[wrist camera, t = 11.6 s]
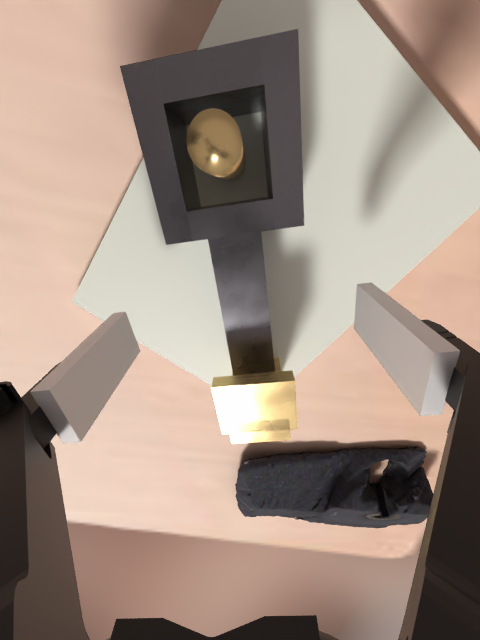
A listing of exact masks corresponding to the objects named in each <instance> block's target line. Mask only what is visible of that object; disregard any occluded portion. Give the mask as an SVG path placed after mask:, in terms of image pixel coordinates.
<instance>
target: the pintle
mask: <svg viewBox="0 0 480 640" xmlns="http://www.w3.org/2000/svg"><path fill="white" fill-rule="evenodd" d="M187 149H188V152H189V155H190V157H191V159H192V161H193V162H194V164H195V165H196V166H197V167H198V168H199V169H201V170H202V171H204V172H206V173H208V174H211V175H214V176H216V177H219V178H222V179H224V180H228V181H232V180H235V179H237V178H239V177H240V176H241V175H242V173H243V171H244V169H245V164H246V161H245V155H244V149H243V143H242V138H241V133H240V129H239V127H238V125H237V123H236V121H235V120H234V119H233V118H232V117H231V116H230V115H229V114H228V113H227V112H225V111H223V110H220V109H216V108H211V109H206V110H203V111H201V112H200V113H198V114H197V115H196V116H195V117H194V119H193V120H192V122H191V123H190V126H189V128H188V132H187Z"/></svg>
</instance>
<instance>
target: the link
mask: <svg viewBox="0 0 480 640" xmlns="http://www.w3.org/2000/svg"><path fill="white" fill-rule="evenodd" d="M120 68H121V72H122V76H123V80H124V84H125V87H126V91H127V95H128V99H129V103H130V107H131V111H132V115H133V118H134V122H135V126H136V130H137V134H138V138H139V142H140V146H141V149H142V153H143V157H144V161H145V165H146V169H147V173H148V177H149V180H150V184H151V188H152V192H153V196H154V200H155V204H156V208H157V212H158V215H159V219H160V223H161V227H162V231H163V235H164V239H165V243H166V245H170V244H177V243H184V242H191V241H198V240H205V239H208V243H209V248H210V254H211V259H212V264H213V270H214V275H215V280H216V286H217V291H218V296H219V302H220V307H221V312H222V318H223V323H224V328H225V334H226V339H227V344H228V350H229V355H230V360H231V366H232V371H233V375H244V374H256V373H267V372H275V365H274V355H273V345H272V335H271V325H270V315H269V305H268V295H267V285H266V275H265V265H264V255H263V245H262V235H261V232H262V231H269V230H276V229H284V228H291V227H298V226H304V200H303V167H302V135H301V102H300V69H299V37H298V29H295V30H290V31H285V32H280V33H276V34H271V35H266V36H261V37H257V38H252V39H247V40H242V41H238V42H233V43H228V44H223V45H219V46H214V47H209V48H204V49H200V50H195V51H190V52H185V53H181V54H176V55H171V56H166V57H162V58H157V59H152V60H147V61H143V62H138V63H133V64H128V65H124V66H120ZM211 108H216V109H220V110H223V111H225V112H227V113H228V114H229V115H230V116H231V117H236V116H241V115H247V114H252V113H257V112H261V120H262V132H263V144H264V156H265V168H266V180H267V191H268V197H261V198H255V199H248V200H242V201H235V202H229V203H222V204H215V205H209V206H202V207H201V204H200V199H199V193H198V188H197V183H196V177H195V172H194V167H193V161H192V159H191V157H190V155H189V152H188V149H187V130H186V126H187V125H190V123H191V122H192V120H193V119H194V117H195V116H196V115H197V114H198V113H200V112H201V111H203V110H206V109H211Z"/></svg>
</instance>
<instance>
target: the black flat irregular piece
mask: <svg viewBox="0 0 480 640" xmlns="http://www.w3.org/2000/svg"><path fill="white" fill-rule="evenodd" d="M426 452H427V451H425V450H422V449H421V448H419V447H417V448H413V447H406V448H405V449H399V450H395V449H384V448H366V449H352V450H348V449H344V450H341V451H338V452H335V453H322V452H317V453H312V454H310V453H307V452H305V453H303V454H301V455H300V454H292V455H287V454H280V455H277V456H268V458H261V459H256V460H247V461H245V462H243V463H242V465H241V467H240V469H239V471H238V478H237V483H236V485H235V486H236V492H237V493H236V498H237V501H238V507H239V509H240V511H241V512H242V514H243V515H244V516H249V517H256V516H281V517H289V518H290V517H291V518H294V517H296V518H298V519H302V520H306V521H308V522H316V523H325V524H331V525H341V526H352V527H367V528H384V527H387V526H390V525H398V524H399V525H408V524H419V523H421V522H423V521H424V520H425V519H426V518H428V515H429V511H430V507H431V502H432V498H433V493H432V490H431V487H430V484H429V481H428V479H427V477H426V475H425V472H424V469H423V467H420V466H421V465H422V464H423V463H424V461H423V460H424V458H425V457H426V456H425V454H426ZM386 459H388V460H389V461H388V465H387V467H386V468H385V469H384V471H383V474H384V475H385V476H382V478H381V479H380V482H379V483H377V484H375V483H370V482H369V478H370V466H371V465H373V464H375V463H377V462H380V461H384V460H386ZM296 518H294V519H296Z"/></svg>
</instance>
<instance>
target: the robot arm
mask: <svg viewBox="0 0 480 640" xmlns="http://www.w3.org/2000/svg"><path fill="white" fill-rule="evenodd" d="M354 329H355V330H356V332H357V333H358V334H359V336H360V337H361V338H362V340H363V341H364V342H365V344H366V345H367V346H368V348H369V349H370V350H371V352H372V353H373V354H374V356H375V357H376V358H377V360H378V361H379V362H380V364H381V365H382V366H383V368H384V369H385V370H386V372H387V373H388V374H389V376H390V377H391V378H392V380H393V381H394V382H395V384H396V385H397V386H398V388H399V389H400V390H401V392H402V393H403V394H404V395H405V397H406V398H407V399H408V401H409V402H410V403H411V405H412V406H413V407H414V409H415V410H416V411H417V413H418V414H419V415H420V416H427V415H440V414H442V413H443V410H444V406H445V403H446V402H447V403H448V404H449V405H450V406H451V407H452V408H453V410H454V412H453V415H452V418H451V421H450V425H449V428H448V431H447V433H448V435H447V439H446V444H445V448H444V452H443V456H442V460H441V465H440V469H439V473H438V477H437V481H436V486H435V490H434V494H433V498H432V502H431V507H430V511H429V515H428V519H427V524H426V528H425V532H424V536H423V540H422V545H421V549H420V553H419V557H418V561H417V566H416V570H415V574H414V578H413V583H412V587H411V591H410V595H409V599H408V603H407V609H406V612H405V616H404V620H403V624H402V628H401V631H400V635H399V638H398V640H480V353H479V352H477V351H476V350H475V349H473V348H472V347H470V346H469V345H468V344H466V343H465V342H463V341H462V340H461V339H459V338H457V337H456V336H455V335H454V334H452V333H451V332H450V333H449V331H448V330H447V329H445V328H444V327H442V326H441V325H439V324H437V323H434V322H432V321H429V320H420V319H418V318H417V317H416V316H414V315H413V314H412V313H411V312H409V311H408V310H407V309H405V308H404V307H403V306H401V305H400V304H399V303H398V302H396V301H395V300H394V299H392V298H391V297H390V296H389V295H387V294H386V293H385V292H383V291H382V290H381V289H379V288H378V287H377V286H376V285H374V284H373V283H372V282H370V283H361V284H357V289H356V304H355V320H354ZM139 352H140V349H139V346H138V343H137V341H136V338H135V335H134V333H133V330H132V327H131V324H130V322H129V319H128V316H127V314H126V312H118V313H113V314H112V315H111V316H110V317H109V318H108V319H106V320H105V321H104V322H103V323H102V324H101V325H100V326H99V327H98V328H97V329H96V330H95V331H94V332H93V333H92V334H91V335H90V336H88V337H87V338H86V339H85V340H84V341H83V342H82V343H81V344H80V345H79V346H78V347H77V348H76V349H75V350H74V351H73V352H72V353H70V354H69V355H68V356H67V357H66V358H65V359H64V360H63V361H62V362H60V363H59V364H57V365H56V366H55V367H54V368H53V369H52V370H50V371H49V372H48V374H46V375H45V376H44V377H43V378H42V380H40V381H39V382H38V383H37V384H35V385H34V386H33V387H32V388H31V389H30V390H29V391H28V392H27V393H26V394H25V395H24V396H23V397H22V398H21V397H20V395H19V394H18V393H17V391H16V390H15V388H14V387H13V385H12V384H11V382H0V640H90V639H89V637H88V635H87V632H86V630H85V627H84V623H83V618H82V612H81V607H80V600H79V594H78V588H77V582H76V576H75V570H74V564H73V557H72V551H71V545H70V540H69V533H68V527H67V521H66V515H65V508H64V502H63V496H62V490H61V484H60V478H59V472H58V466H57V460H56V454H55V448H54V446H53V444H52V443H51V442H50V441H51V440H52V438H53V437H54V436H55V435H56V433H57V435H58V436H59V438H60V439H61V441H62V442H63V443H76V442H81V441H82V439H83V438H84V436H85V435H86V433H87V432H88V430H89V429H90V427H91V426H92V424H93V423H94V421H95V420H96V418H97V416H98V415H99V413H100V412H101V410H102V409H103V407H104V406H105V404H106V403H107V401H108V400H109V398H110V397H111V395H112V393H113V392H114V390H115V389H116V387H117V386H118V384H119V383H120V381H121V380H122V378H123V377H124V375H125V373H126V372H127V370H128V369H129V367H130V366H131V364H132V363H133V361H134V360H135V358H136V357H137V355H138V354H139ZM107 640H338V639H336V638H335V637H333V636H331V635H329V634H326V633H323V632H321V631H319V630H318V623H317V617H316V615H314V616H264V617H262V618H260V619H257V620H255V621H253V622H250V623H248V624H245V625H243V626H240V627H238V628H236V629H233V630H231V631H228V632H226V633H224V634H221V635H219V636H216V637H207V636H204V635H202V634H200V633H197V632H195V631H192V630H190V629H187V628H185V627H183V626H181V625H178V624H176V623H173V622H171V621H169V620H166V619H164V618H138V619H116V622H115V625H114V628H113V632H112V635H111V638H109V639H107Z"/></svg>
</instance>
